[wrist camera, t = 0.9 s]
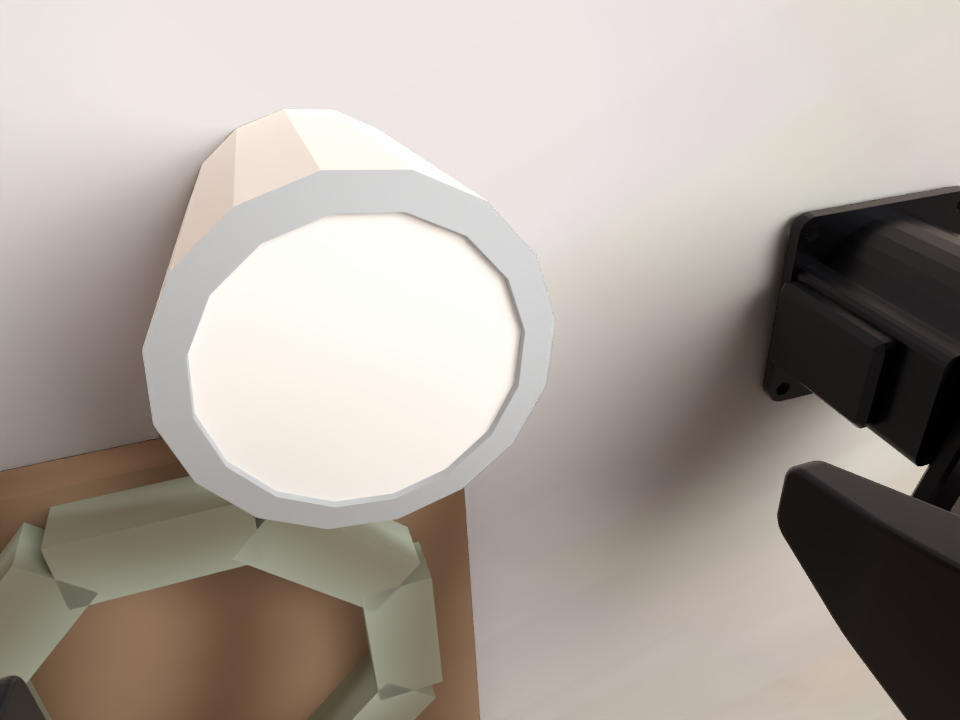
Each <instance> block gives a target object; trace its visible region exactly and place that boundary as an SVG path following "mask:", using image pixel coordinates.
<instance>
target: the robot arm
mask: <svg viewBox="0 0 960 720" xmlns="http://www.w3.org/2000/svg"><path fill="white" fill-rule="evenodd" d="M811 226H812V228H811V230H810V232H809V233H808V234H807V235H806V233H807V231H808V229H809V228H810V227H811ZM779 385H780V386H779ZM778 386H779V387H778ZM763 391H764V393H765V394H766V395H767V396H768V397H769V398H771V399H772V400H774V401H783V400H787V399H791V398H796V397H800V396H804V395H808V394H812V393H814V394H815V395H816V396H818V397H819V398H820V399H822V400H823V401H824V402H825V403H827V404H828V405H829V406H830V407H832V408H833V409H834V410H836V411H837V412H838V413H839V414H841V415H842V416H843V417H845V418H846V419H847V420H848V421H850V422H851V423H852V424H853V425H855V426H856V427H858V428H864V427H867V428H869V429H870V430H871V431H873V432H874V433H875V434H876V435H878V436H879V437H880V438H882V439H883V440H884V441H886V442H887V443H888V444H889V445H891V446H892V447H893V448H895V449H896V450H897V451H898V452H900V453H901V454H902V455H904V456H905V457H906V458H908V459H909V460H910V461H911V462H913V463H914V464H915V465H917V466H924V465H928V464H929V466H928V468H927V469H926V471H925V473H924V474H923V476H922V478H921V479H920V481H919V483H918V485H917V486H916V488H915V490H914V491H913V493H912V495H911V496H909V495H906V494H904V493H901V492H899V491H896V490H894V489H891V488H889V487H886V486H884V485H881V484H879V483H876V482H874V481H871V480H869V479H866V478H864V477H861V476H859V475H856V474H854V473H851V472H849V471H846V470H844V469H841V468H839V467H836V466H833V465H831V464H828V463H826V462H823V461H812V462H808V463H804V464H800V465H797V466H793V467H791V468H790V469H789V470H788V471H787V473H786V475H785V479H784V484H783V489H782V493H781V498H780V503H779V508H778V513H777V518H778V524H779V528H780V530H781V533H782V535H783V536H784V538H785V540H786V541H787V543H788V545H789V546H790V548H791V550H792V551H793V553H794V554H795V556H796V558H797V559H798V561H799V563H800V564H801V566H802V568H803V569H804V571H805V573H806V574H807V576H808V578H809V579H810V581H811V582H812V584H813V586H814V587H815V589H816V591H817V592H818V594H819V596H820V597H821V599H822V601H823V602H824V604H825V606H826V607H827V609H828V611H829V612H830V614H831V615H832V617H833V619H834V620H835V622H836V623H837V625H838V626H839V628H840V630H841V631H842V633H843V634H844V636H845V637H846V638H847V640H848V641H849V643H850V644H851V645H852V647H853V648H854V650H855V651H856V652H857V654H858V655H859V656H860V658H861V659H862V660H863V662H864V663H865V664H866V666H867V667H868V669H869V670H870V671H871V673H872V674H873V675H874V677H875V678H876V679H877V681H878V682H879V683H880V685H881V686H882V687H883V689H884V690H885V691H886V693H887V694H888V695H889V697H890V698H891V699H892V701H893V702H894V703H895V705H896V706H897V707H898V709H899V710H900V711H901V713H902V714H903V715H904V717H905V718H906V719H907V720H960V186H953V187H947V188H941V189H935V190H930V191H924V192H918V193H913V194H907V195H901V196H896V197H890V198H884V199H879V200H873V201H867V202H862V203H856V204H850V205H845V206H839V207H833V208H828V209H822V210H816V211H811V212H806V213H804V214H802V215H800V216H799V217H798V218H797V219H796V220H795V222H794V223H793V224H792V227H791V230H790V235H789V241H788V247H787V252H786V258H785V263H784V269H783V274H782V280H781V286H780V291H779V297H778V302H777V308H776V314H775V319H774V325H773V330H772V336H771V341H770V347H769V353H768V358H767V364H766V369H765V375H764V381H763ZM0 720H46V719H45V717H44V715H43V713H42V711H41V710H40V708H39V706H38V704H37V702H36V701H35V699H34V697H33V695H32V693H31V692H30V690H29V688H28V686H27V685H26V683H25V682H24V680H23V679H22V678H21V677H19V676H16V675H13V676H12V675H10V676H7V677H3V678H0Z"/></svg>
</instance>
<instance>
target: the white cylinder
mask: <svg viewBox="0 0 960 720" xmlns="http://www.w3.org/2000/svg"><path fill="white" fill-rule="evenodd" d="M554 326H555V317H554V313H553V310H552V306H551V303H550V299H549V296H548V292H547V289H546V286H545V282H544V279H543V275H542V272H541V268H540V265H539V261H538V258H537V255H536V254H535V253H534V252H533V251H532V250H531V248H530V247H529V246H528V245H527V244H526V243H525V242H524V241H523V240H522V238H521V237H520V236H519V235H518V234H517V233H516V232H515V231H514V230H513V228H512V227H511V226H510V225H509V224H508V223H507V222H506V221H505V220H504V219H503V217H502V216H501V215H500V214H499V213H498V212H497V211H496V210H495V209H494V207H493V206H492V205H491V204H490V203H489V202H488V201H487V200H485V199H484V198H482V197H481V196H479V195H478V194H476V193H475V192H473V191H471V190H470V189H468V188H467V187H465V186H464V185H462V184H461V183H459V182H458V181H456V180H455V179H453V178H452V177H450V176H449V175H447V174H445V173H444V172H442V171H441V170H439V169H438V168H436V167H435V166H433V165H432V164H430V163H429V162H427V161H426V160H424V159H423V158H421V157H420V156H418V155H416V154H415V153H413V152H412V151H410V150H409V149H407V148H406V147H404V146H403V145H401V144H400V143H398V142H397V141H395V140H394V139H392V138H390V137H389V136H387V135H386V134H384V133H383V132H381V131H380V130H378V129H376V128H374V127H372V126H369V125H367V124H365V123H362V122H360V121H358V120H356V119H353V118H351V117H349V116H346V115H344V114H342V113H340V112H337V111H335V110H313V109H282V110H280V111H277V112H275V113H272V114H270V115H267V116H265V117H262V118H260V119H257V120H255V121H253V122H250V123H248V124H245V125H243V126H240V127H238V128H236V129H235V130H234V131H233V132H232V133H231V134H230V135H229V136H228V137H227V138H226V139H225V141H224V142H223V143H222V144H221V145H220V146H219V147H218V148H217V149H216V150H215V151H214V152H213V153H212V154H211V155H210V156H209V157H208V158H207V159H206V160H205V161H204V162H203V163H202V166H201V169H200V172H199V175H198V178H197V180H196V183H195V186H194V189H193V192H192V195H191V198H190V201H189V204H188V206H187V209H186V213H185V216H184V219H183V222H182V225H181V228H180V232H179V235H178V238H177V241H176V244H175V247H174V251H173V254H172V257H171V260H170V263H169V266H168V269H167V273H166V276H165V279H164V282H163V285H162V288H161V292H160V295H159V298H158V301H157V304H156V307H155V310H154V314H153V317H152V320H151V323H150V326H149V329H148V333H147V336H146V339H145V342H144V345H143V348H142V355H143V361H144V368H145V374H146V381H147V388H148V394H149V401H150V408H151V414H152V421H153V425H154V427H155V428H156V429H157V431H158V432H159V434H160V435H161V436H162V438H163V439H164V440H165V442H166V443H167V445H168V446H169V447H170V449H171V450H172V451H173V453H174V454H175V455H176V457H177V458H178V460H179V461H180V462H181V464H182V465H183V466H184V468H185V469H186V471H187V472H188V473H189V475H190V476H191V477H192V479H193V480H194V482H195V483H197V484H199V485H200V486H202V487H204V488H206V489H207V490H209V491H211V492H213V493H214V494H216V495H218V496H220V497H221V498H223V499H225V500H227V501H229V502H230V503H232V504H234V505H236V506H237V507H239V508H241V509H243V510H244V511H246V512H248V513H250V514H251V515H253V516H255V517H257V518H261V519H267V520H274V521H280V522H286V523H292V524H298V525H304V526H311V527H317V528H323V529H333V528H340V527H347V526H353V525H360V524H367V523H373V522H380V521H387V520H393V519H399V518H401V517H403V516H405V515H408V514H410V513H412V512H414V511H416V510H418V509H420V508H422V507H425V506H427V505H429V504H431V503H433V502H435V501H437V500H439V499H442V498H444V497H446V496H448V495H450V494H452V493H454V492H456V491H459V490H461V489H463V488H464V487H465V486H466V485H467V484H468V483H469V482H470V481H472V480H473V479H474V478H475V477H476V476H477V475H478V474H479V473H480V472H481V471H483V470H484V469H485V468H486V467H487V466H488V465H489V464H490V463H491V462H493V461H494V460H495V459H496V458H497V457H498V456H499V455H500V454H501V453H503V452H504V451H505V450H506V449H507V448H508V447H509V446H510V445H511V444H513V442H514V441H515V439H516V437H517V435H518V434H519V432H520V430H521V428H522V427H523V425H524V423H525V421H526V419H527V418H528V416H529V414H530V412H531V411H532V409H533V407H534V405H535V403H536V402H537V400H538V398H539V396H540V395H541V393H542V391H543V389H544V388H545V386H546V382H547V375H548V368H549V361H550V354H551V347H552V340H553V333H554Z"/></svg>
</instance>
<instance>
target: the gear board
mask: <svg viewBox="0 0 960 720" xmlns="http://www.w3.org/2000/svg"><path fill="white" fill-rule="evenodd" d="M10 675H12V676H13V675H16V676H19V677H21V678H22V679H23V680H24V682H25V683H26V685H27V686H28V688H29V690H30V692H31V693H32V695H33V697H34V699H35V701H36V702H37V704H38V706H39V708H40V710H41V711H42V713H43V715H44V717H45V719H46V720H480V712H479V698H478V683H477V669H476V654H475V640H474V625H473V611H472V596H471V582H470V567H469V553H468V539H467V524H466V510H465V495H464V488H463V489H461V490H459V491H456V492H454V493H452V494H450V495H448V496H446V497H444V498H442V499H439V500H437V501H435V502H433V503H431V504H429V505H427V506H425V507H422V508H420V509H418V510H416V511H414V512H412V513H410V514H408V515H405V516H403V517H401V518H399V519H393V520H387V521H380V522H373V523H367V524H360V525H353V526H347V527H340V528H333V529H323V528H317V527H311V526H304V525H298V524H292V523H286V522H280V521H274V520H267V519H261V518H257V517H255V516H253V515H251V514H250V513H248V512H246V511H244V510H243V509H241V508H239V507H237V506H236V505H234V504H232V503H230V502H229V501H227V500H225V499H223V498H221V497H220V496H218V495H216V494H214V493H213V492H211V491H209V490H207V489H206V488H204V487H202V486H200V485H199V484H197V483H195V482H194V480H193V479H192V477H191V476H190V475H189V473H188V472H187V471H186V469H185V468H184V466H183V465H182V464H181V462H180V461H179V460H178V458H177V457H176V455H175V454H174V453H173V451H172V450H171V449H170V447H169V446H168V445H167V443H166V442H165V440H164V439H163V438H159V439H154V440H149V441H144V442H140V443H135V444H130V445H125V446H121V447H116V448H111V449H106V450H102V451H97V452H92V453H87V454H82V455H78V456H73V457H68V458H63V459H59V460H54V461H49V462H44V463H40V464H35V465H30V466H25V467H21V468H16V469H11V470H6V471H1V472H0V678H3V677H7V676H10Z"/></svg>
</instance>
